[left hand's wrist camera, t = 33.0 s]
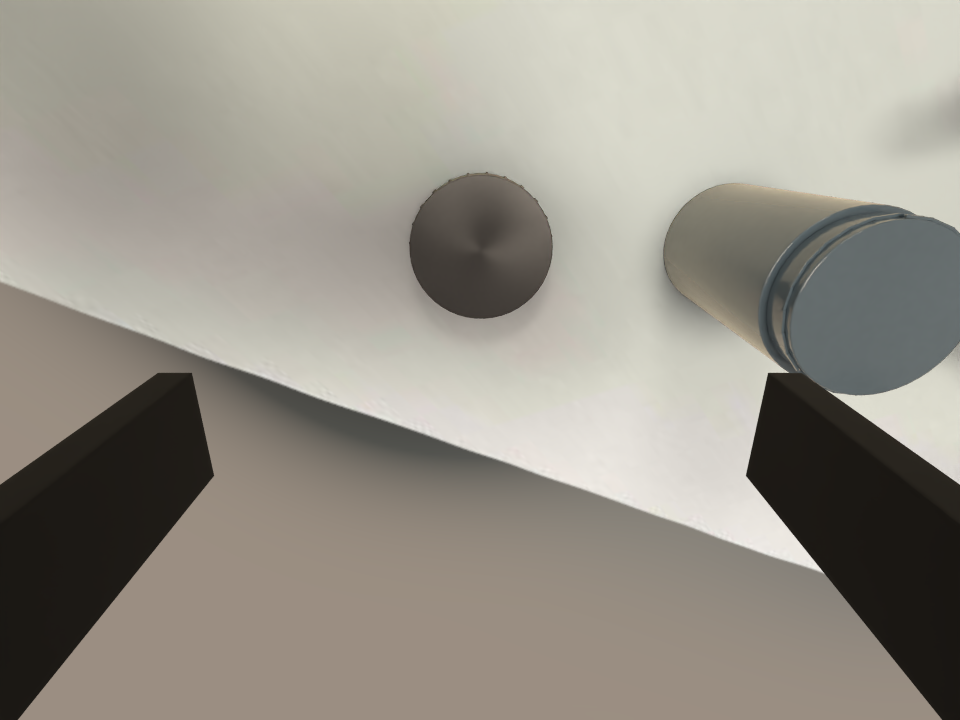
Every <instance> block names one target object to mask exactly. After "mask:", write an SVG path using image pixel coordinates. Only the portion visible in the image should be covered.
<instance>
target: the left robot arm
mask: <svg viewBox="0 0 960 720" xmlns="http://www.w3.org/2000/svg"><path fill="white" fill-rule="evenodd" d="M213 476H214V473H213V469H212V464H211V460H210V455H209V450H208V446H207V441H206V436H205V432H204V427H203V423H202V418H201V413H200V409H199V404H198V400H197V395H196V390H195V386H194V381H193V376H192V373H157V374H156V375H155V376H153V377H152V378H150V379H149V380H147V381H146V382H145V383H143V384H142V385H140V386H139V387H138V388H136V389H135V390H133V391H132V392H131V393H129V394H128V395H126V396H125V397H123V398H122V399H121V400H119V401H118V402H116V403H115V404H114V405H112V406H111V407H109V408H108V409H107V410H105V411H104V412H102V413H101V414H99V415H98V416H97V417H95V418H94V419H92V420H91V421H90V422H88V423H87V424H85V425H84V426H83V427H81V428H80V429H78V430H77V431H75V432H74V433H73V434H71V435H70V436H68V437H67V438H66V439H64V440H63V441H61V442H60V443H59V444H57V445H56V446H54V447H53V448H51V449H50V450H49V451H47V452H46V453H44V454H43V455H42V456H40V457H39V458H37V459H36V460H35V461H33V462H32V463H30V464H29V465H27V466H26V467H25V468H23V469H22V470H20V471H19V472H18V473H16V474H15V475H13V476H12V477H11V478H9V479H8V480H6V481H5V482H3V483H2V484H1V485H0V720H18V719H19V718H20V716H21V715H22V714H23V713H24V711H25V710H26V709H27V708H28V706H29V705H30V704H31V703H32V701H33V700H34V699H35V698H36V696H37V695H38V694H39V693H40V691H41V690H42V689H43V688H44V686H45V685H46V684H47V683H48V681H49V680H50V679H51V678H52V677H53V675H54V674H55V673H56V672H57V670H58V669H59V668H60V667H61V665H62V664H63V663H64V662H65V660H66V659H67V658H68V657H69V655H70V654H71V653H72V652H73V650H74V649H75V648H76V647H77V645H78V644H79V643H80V642H81V640H82V639H83V638H84V637H85V635H86V634H87V633H88V632H89V631H90V629H91V628H92V627H93V626H94V624H95V623H96V622H97V621H98V619H99V618H100V617H101V616H102V614H103V613H104V612H105V611H106V609H107V608H108V607H109V606H110V604H111V603H112V602H113V601H114V599H115V598H116V597H117V596H118V594H119V593H120V592H121V591H122V589H123V588H124V587H125V586H126V585H127V583H128V582H129V581H130V580H131V578H132V577H133V576H134V575H135V573H136V572H137V571H138V570H139V568H140V567H141V566H142V565H143V563H144V562H145V561H146V560H147V558H148V557H149V556H150V555H151V553H152V552H153V551H154V550H155V548H156V547H157V546H158V545H159V543H160V542H161V541H162V540H163V538H164V537H165V536H166V535H167V533H168V532H169V531H170V530H171V529H172V527H173V526H174V525H175V524H176V522H177V521H178V520H179V519H180V517H181V516H182V515H183V514H184V512H185V511H186V510H187V509H188V507H189V506H190V505H191V504H192V502H193V501H194V500H195V499H196V497H197V496H198V495H199V494H200V492H201V491H202V490H203V489H204V488H205V486H206V485H207V484H208V482H209V481H210V480H211V479H212V478H213ZM746 476H747V478H748V479H749V480H750V481H751V483H752V484H753V485H754V486H755V488H756V489H757V490H758V491H759V492H760V494H761V495H762V496H763V497H764V499H765V500H766V501H767V502H768V504H769V505H770V506H771V507H772V509H773V510H774V511H775V512H776V514H777V515H778V516H779V517H780V519H781V520H782V521H783V522H784V524H785V525H786V526H787V527H788V529H789V530H790V531H791V532H792V534H793V535H794V536H795V537H796V539H797V540H798V541H799V542H800V543H801V545H802V546H803V547H804V548H805V550H806V551H807V552H808V553H809V555H810V556H811V557H812V558H813V560H814V561H815V562H816V563H817V565H818V566H819V567H820V568H821V570H822V571H823V572H824V573H825V575H826V576H827V577H828V578H829V580H830V581H831V582H832V583H833V585H834V586H835V587H836V588H837V589H838V591H839V592H840V593H841V594H842V596H843V597H844V598H845V599H846V601H847V602H848V603H849V604H850V606H851V607H852V608H853V609H854V611H855V612H856V613H857V614H858V616H859V617H860V618H861V619H862V621H863V622H864V623H865V624H866V626H867V627H868V628H869V629H870V630H871V632H872V633H873V634H874V635H875V637H876V638H877V639H878V640H879V642H880V643H881V644H882V645H883V647H884V648H885V649H886V650H887V652H888V653H889V654H890V655H891V657H892V658H893V659H894V660H895V662H896V663H897V664H898V665H899V667H900V668H901V669H902V670H903V672H904V673H905V674H906V675H907V677H908V678H909V679H910V680H911V681H912V683H913V684H914V685H915V686H916V688H917V689H918V690H919V691H920V693H921V694H922V695H923V696H924V698H925V699H926V700H927V701H928V703H929V704H930V705H931V706H932V708H933V709H934V710H935V711H936V713H937V714H938V715H939V716H940V718H941V719H942V720H960V485H959V484H958V483H957V482H955V481H954V480H952V479H951V478H949V477H948V476H947V475H945V474H944V473H942V472H941V471H940V470H938V469H937V468H935V467H934V466H933V465H931V464H930V463H928V462H927V461H925V460H924V459H923V458H921V457H920V456H918V455H917V454H916V453H914V452H913V451H911V450H910V449H909V448H907V447H906V446H904V445H903V444H901V443H900V442H899V441H897V440H896V439H894V438H893V437H892V436H890V435H889V434H887V433H886V432H885V431H883V430H882V429H880V428H879V427H877V426H876V425H875V424H873V423H872V422H870V421H869V420H868V419H866V418H865V417H863V416H862V415H861V414H859V413H858V412H856V411H855V410H853V409H852V408H851V407H849V406H848V405H846V404H845V403H844V402H842V401H841V400H839V399H838V398H837V397H835V396H834V395H832V394H831V393H829V392H828V391H827V390H825V389H824V388H822V387H821V386H820V385H818V384H817V383H815V382H814V381H813V380H811V379H810V378H808V377H807V376H805V375H804V374H803V373H768V376H767V381H766V386H765V390H764V395H763V400H762V404H761V409H760V413H759V418H758V423H757V427H756V432H755V436H754V441H753V446H752V450H751V455H750V460H749V464H748V469H747V473H746Z"/></svg>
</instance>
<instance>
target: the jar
mask: <svg viewBox="0 0 960 720" xmlns="http://www.w3.org/2000/svg"><path fill="white" fill-rule="evenodd" d="M664 263H665V268H666V271H667V274H668V276H669V278H670V280H671V282H672V284H673V285H674V286H675V287H676V289H677V290H678V291H679V292H680V293H681V294H683V295H684V296H685V297H687V298H688V299H689V300H691V301H692V302H694V303H695V304H696V305H698V306H699V307H700V308H702V309H703V310H704V311H706V312H707V313H708V314H710V315H711V316H713V317H714V318H715V319H717V320H718V321H719V322H721V323H722V324H723V325H725V326H726V327H727V328H729V329H730V330H732V331H733V332H734V333H736V334H737V335H738V336H740V337H741V338H742V339H744V340H745V341H746V342H748V343H749V344H750V345H752V346H753V347H755V348H756V349H757V350H759V351H760V352H761V353H763V354H764V355H765V356H767V357H768V358H769V359H771V360H772V361H774V362H775V363H776V364H778V365H779V366H780V367H782V368H783V369H785V370H786V371H788V372H789V373H803V374H804V375H805V376H807V377H808V378H810V379H811V380H813V381H814V382H815V383H817V384H818V385H820V386H821V387H822V388H824V389H825V390H828V391H831V392H833V393H841V394H848V395H871V394H877V393H883V392H887V391H890V390H894V389H897V388H899V387H902V386H904V385H907V384H909V383H911V382H913V381H914V380H916V379H918V378H920V377H921V376H923V375H924V374H926V373H928V372H929V371H930V370H932V369H933V368H934V367H935V366H937V365H938V364H939V363H940V362H941V361H942V360H944V359H945V358H946V357H947V356H948V355H949V354H950V352H951V351H952V350H953V349H954V348H955V347H956V345H957V344H958V343H959V341H960V233H959V232H958V231H957V230H956V229H955V228H954V227H952V226H950V225H948V224H945V223H943V222H941V221H939V220H937V219H934V218H932V217H925V216H918V215H915V214H914V213H912V212H910V211H908V210H905V209H902V208H899V207H895V206H890V205H884V204H877V203H871V202H864V201H857V200H850V199H844V198H837V197H830V196H823V195H816V194H810V193H803V192H796V191H789V190H782V189H776V188H769V187H762V186H755V185H748V184H740V183H731V184H723V185H719V186H715V187H713V188H710V189H708V190H706V191H704V192H702V193H700V194H699V195H697V196H695V197H694V198H693V199H692V200H690V201H689V202H688V203H687V204H686V205H685V206H684V207H683V208H682V209H681V210H680V212H679V213H678V214H677V216H676V217H675V219H674V220H673V222H672V224H671V226H670V228H669V231H668V233H667V237H666V240H665V246H664Z"/></svg>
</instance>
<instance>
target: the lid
mask: <svg viewBox="0 0 960 720" xmlns="http://www.w3.org/2000/svg"><path fill="white" fill-rule="evenodd" d="M432 193H433V194H432V195H431V196H430V197H429V198H428V199H427V200H426V202H425V203H423V204H422V205H421V207H420V208H421V209H420V211H419V212H418V214H417V216H416V218H415V221H414V223H413V224H412V225H413V227H412V231H411V236H410V242H409V244H410V257H411V263H412V267H413V270H414V273H415V275H416V277H417V280H418V281H419V283H420V285H421V286H422V288H423V289H424V290H425V292H426V293H427V294H428V295H429V296H430V297H431V298H432V299H433V300H434V301H435V302H436V303H437V304H439V305H440V306H441V307H443V308H445V309H446V310H448V311H450V312H453V313H455V314H457V315H461V316H464V317H469V318H483V319H484V318H493V317H498V316H502V315H504V314H507V313H510V312H512V311H514V310H516V309H517V308H519V307H520V306H522V305H523V304H525V303H526V302H527V301H528V300H529V299H530V298H532V297H533V295H534V294H535V293H536V292H537V291H538V289H539V288H540V286H541V285H542V283H543V281H544V279H545V277H546V275H547V273H548V270H549V267H550V263H551V258H552V235H551V230H550V226H549V224H548V221H547V216H546V215H545V214H544V212H543V210H542V209H541V207H540V206H539V204H538V203H537V202H538V201H537V200H536V199H535V198H533V197H532V196H531V195H530V194H529V193H528V192H527V191H526V190H525V189H524V187H523V186H522V185H521V186H520V185H518V184H516V183H515V182H513V181H511V180H509V179H507V177H506V176H504V177H501V176H498V175H494V174H488V172H486V173H475V174H469V173H467V175H464V176H460V177H458V178H455V179H453V180H451V179H450V180H449V181H448V182H447V183H446V184H444V185H442V186H441V187H440V188H439V189H437V190H436V189H435V190H434V191H433V192H432Z"/></svg>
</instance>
